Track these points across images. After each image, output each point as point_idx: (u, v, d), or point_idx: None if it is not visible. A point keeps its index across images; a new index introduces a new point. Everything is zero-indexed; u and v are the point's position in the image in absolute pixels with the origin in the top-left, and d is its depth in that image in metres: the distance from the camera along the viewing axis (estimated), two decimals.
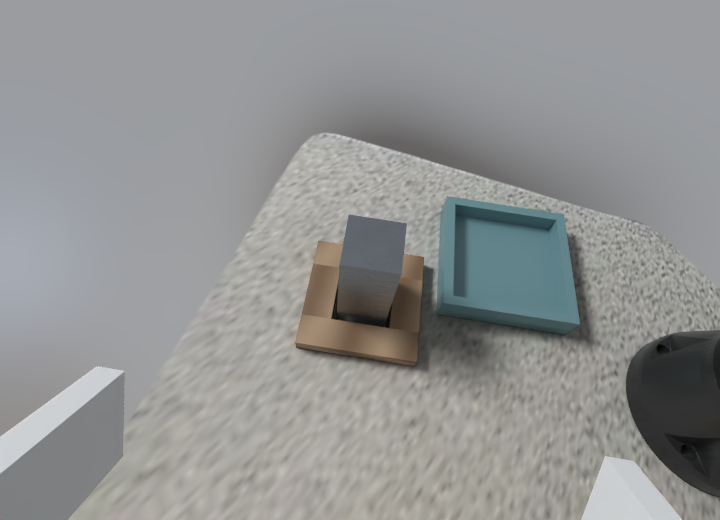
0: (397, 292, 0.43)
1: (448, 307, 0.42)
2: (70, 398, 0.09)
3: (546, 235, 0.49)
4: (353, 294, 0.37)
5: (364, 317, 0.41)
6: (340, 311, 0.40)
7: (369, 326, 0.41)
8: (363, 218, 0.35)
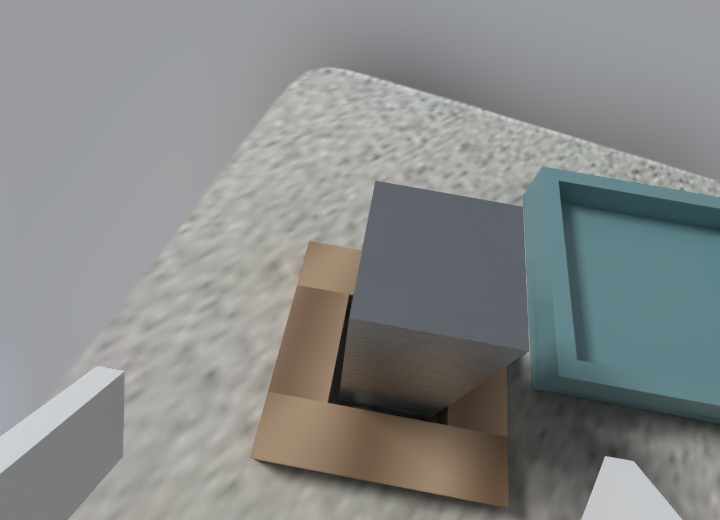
0: None
1: (565, 382, 0.21)
2: (69, 398, 0.09)
3: (716, 240, 0.27)
4: (378, 373, 0.16)
5: (397, 402, 0.20)
6: (346, 390, 0.19)
7: (406, 421, 0.20)
8: (412, 191, 0.14)
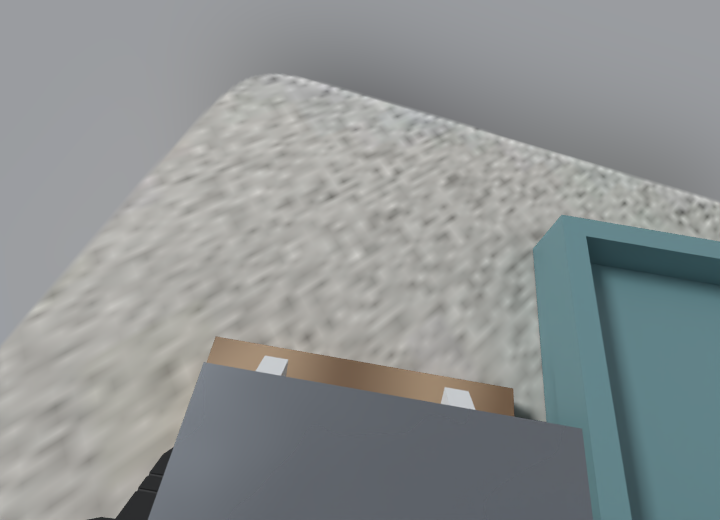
0: None
1: None
2: None
3: None
4: None
5: None
6: None
7: None
8: (297, 391, 0.05)
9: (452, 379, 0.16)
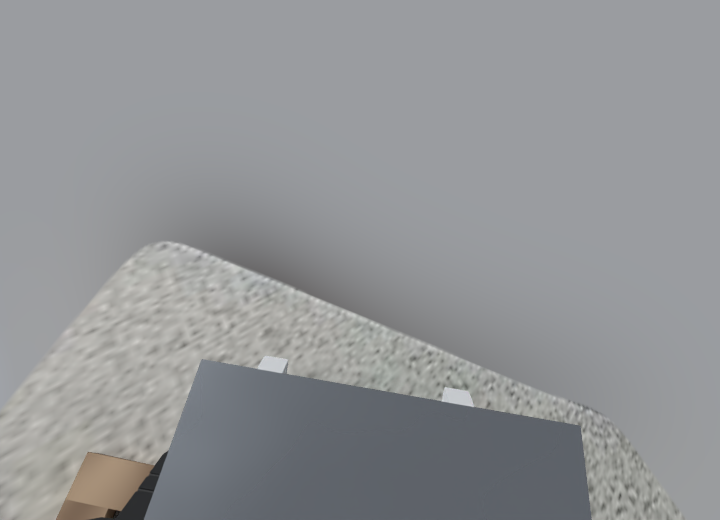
0: None
1: None
2: None
3: None
4: None
5: None
6: None
7: None
8: (295, 388, 0.05)
9: None
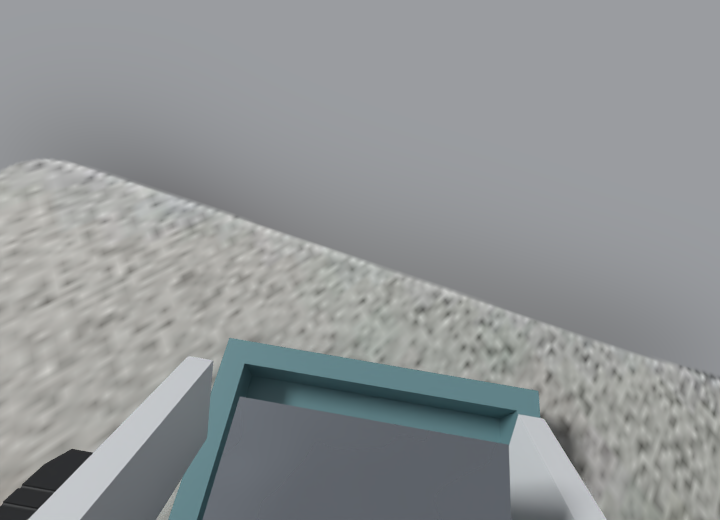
0: None
1: None
2: (175, 383, 0.11)
3: (493, 438, 0.19)
4: None
5: None
6: None
7: None
8: (306, 417, 0.07)
9: None
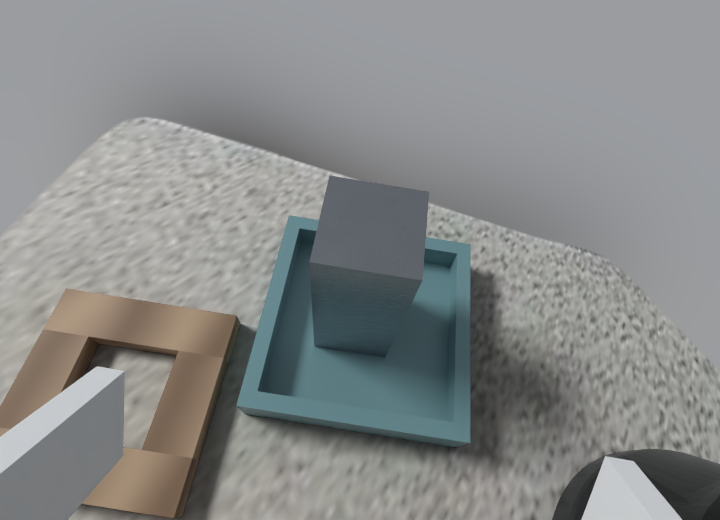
0: (174, 380, 0.26)
1: (251, 410, 0.25)
2: (70, 398, 0.09)
3: (445, 275, 0.32)
4: (337, 311, 0.22)
5: (357, 343, 0.26)
6: (318, 334, 0.26)
7: None
8: (354, 182, 0.20)
9: (201, 311, 0.28)
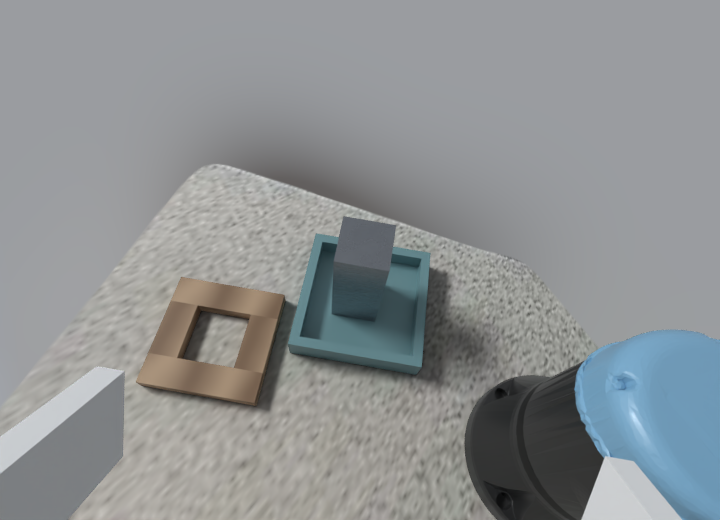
0: (249, 331, 0.44)
1: (295, 347, 0.42)
2: (70, 398, 0.09)
3: (414, 273, 0.49)
4: (346, 289, 0.40)
5: (357, 311, 0.44)
6: (334, 305, 0.44)
7: (213, 366, 0.41)
8: (356, 220, 0.38)
9: (263, 291, 0.46)
